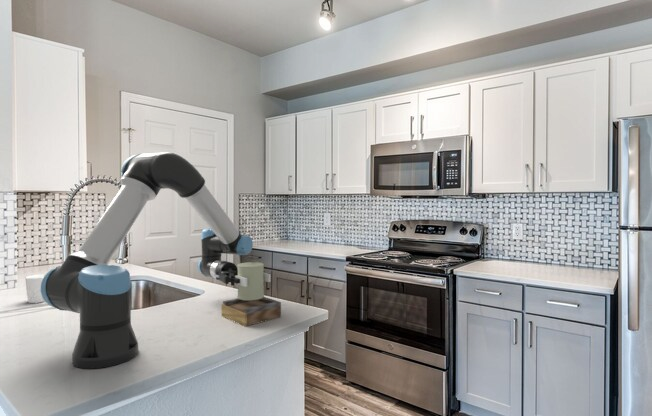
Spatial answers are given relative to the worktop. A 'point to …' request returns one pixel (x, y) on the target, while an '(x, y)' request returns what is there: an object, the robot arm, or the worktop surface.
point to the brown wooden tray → (251, 310)
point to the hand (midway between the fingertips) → (258, 280)
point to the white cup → (34, 288)
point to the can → (251, 281)
